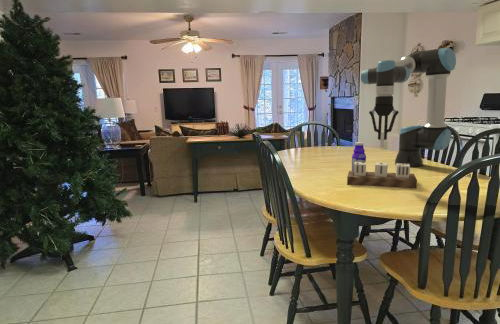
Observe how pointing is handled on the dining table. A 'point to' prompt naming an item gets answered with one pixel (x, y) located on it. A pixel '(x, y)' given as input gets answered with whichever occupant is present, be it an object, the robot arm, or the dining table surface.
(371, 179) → the keyboard base
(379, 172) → the cream block
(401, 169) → the key three
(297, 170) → the dining table surface
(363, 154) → the bottle
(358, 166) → the key two
